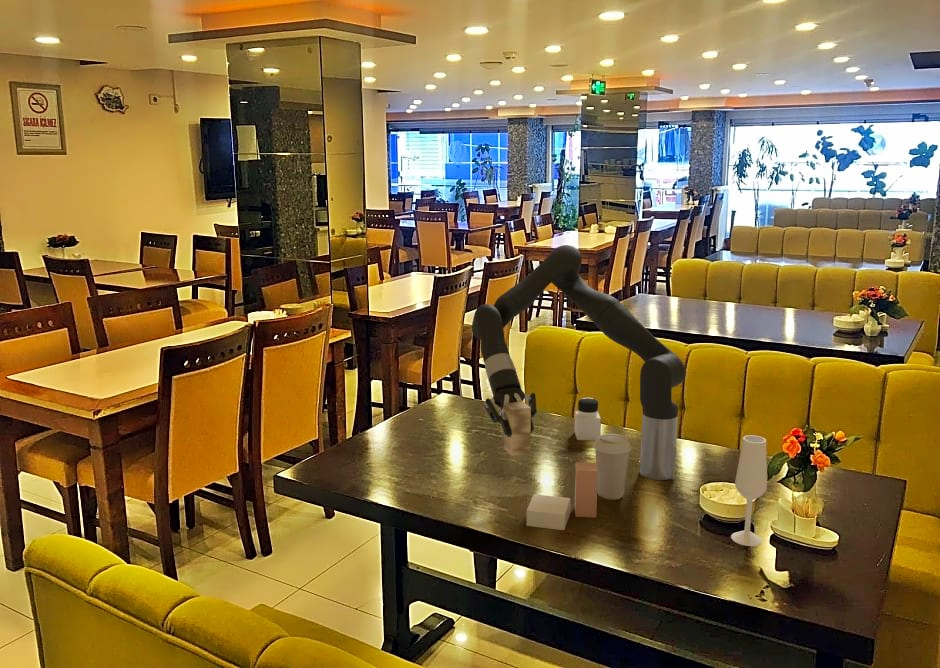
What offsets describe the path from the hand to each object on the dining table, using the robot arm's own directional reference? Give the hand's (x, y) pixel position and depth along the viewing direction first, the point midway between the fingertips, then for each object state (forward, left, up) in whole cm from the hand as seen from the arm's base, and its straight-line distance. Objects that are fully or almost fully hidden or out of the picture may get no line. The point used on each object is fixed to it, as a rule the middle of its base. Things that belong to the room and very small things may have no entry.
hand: (520, 433), depth 190 cm
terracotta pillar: (-17, +2, -18) cm, 25 cm away
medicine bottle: (-11, -50, -18) cm, 54 cm away
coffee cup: (-22, -10, -18) cm, 30 cm away
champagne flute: (-54, +6, -18) cm, 57 cm away
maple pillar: (+1, -2, -5) cm, 6 cm away
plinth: (-9, +8, -18) cm, 22 cm away
